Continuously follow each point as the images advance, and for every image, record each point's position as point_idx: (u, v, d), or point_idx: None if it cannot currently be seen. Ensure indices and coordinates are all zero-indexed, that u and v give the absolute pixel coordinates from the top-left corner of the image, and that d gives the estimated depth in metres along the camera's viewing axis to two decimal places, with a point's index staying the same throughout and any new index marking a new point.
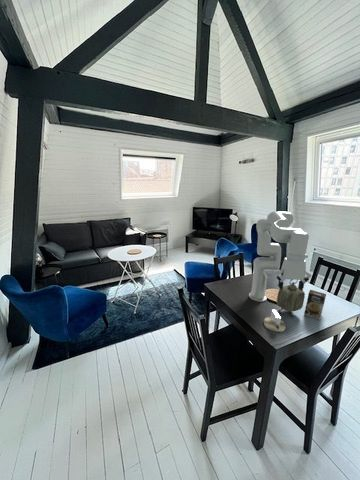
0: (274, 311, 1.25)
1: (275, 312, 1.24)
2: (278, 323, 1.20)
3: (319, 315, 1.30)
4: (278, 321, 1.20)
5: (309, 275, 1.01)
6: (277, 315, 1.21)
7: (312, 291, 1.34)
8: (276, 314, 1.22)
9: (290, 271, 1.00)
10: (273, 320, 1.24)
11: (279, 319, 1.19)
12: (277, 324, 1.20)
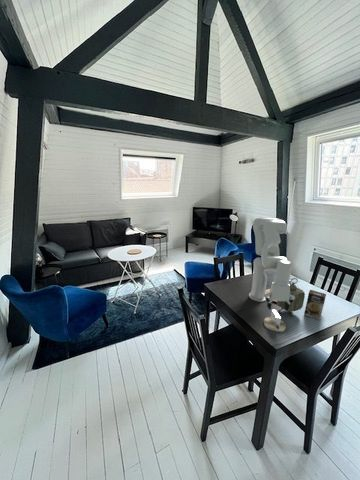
0: (274, 311, 1.25)
1: (275, 312, 1.24)
2: (278, 323, 1.20)
3: (319, 315, 1.30)
4: (278, 321, 1.20)
5: (293, 297, 1.18)
6: (277, 315, 1.21)
7: (312, 291, 1.34)
8: (276, 314, 1.22)
9: (277, 294, 1.17)
10: (273, 320, 1.24)
11: (279, 319, 1.19)
12: (277, 324, 1.20)
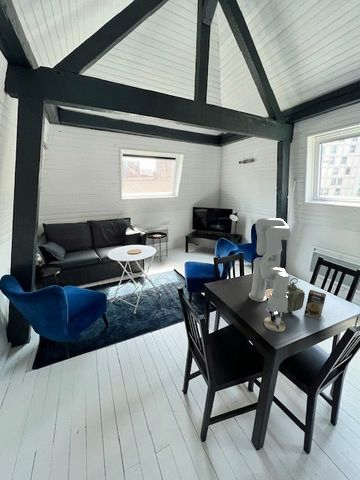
0: None
1: (275, 312, 1.24)
2: (278, 323, 1.20)
3: (319, 315, 1.30)
4: (278, 321, 1.20)
5: (286, 311, 1.21)
6: (277, 315, 1.21)
7: (312, 291, 1.34)
8: (276, 314, 1.22)
9: (274, 305, 1.19)
10: None
11: (279, 319, 1.19)
12: (277, 324, 1.20)
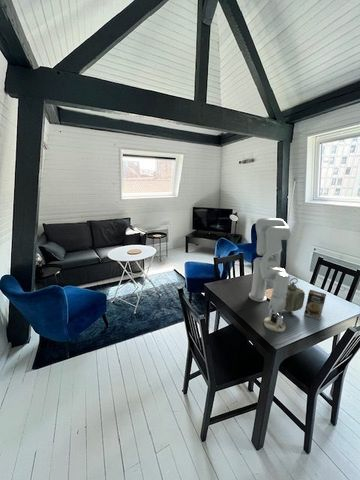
0: None
1: None
2: (280, 323, 1.20)
3: (319, 315, 1.30)
4: (281, 321, 1.20)
5: None
6: (278, 315, 1.21)
7: (312, 291, 1.34)
8: (277, 314, 1.22)
9: (278, 306, 1.18)
10: None
11: (281, 319, 1.20)
12: (280, 324, 1.20)
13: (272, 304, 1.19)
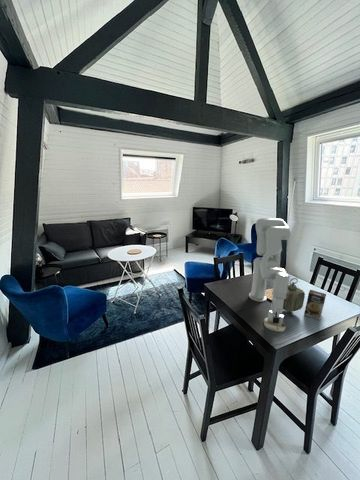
0: (272, 312, 1.24)
1: None
2: (282, 321, 1.22)
3: (319, 315, 1.30)
4: (282, 319, 1.21)
5: None
6: None
7: (312, 291, 1.34)
8: None
9: None
10: None
11: (283, 317, 1.21)
12: (282, 323, 1.22)
13: (278, 306, 1.16)
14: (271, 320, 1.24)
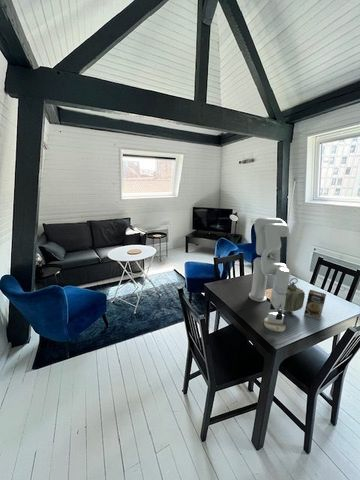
0: (272, 313, 1.23)
1: (274, 313, 1.23)
2: None
3: (319, 315, 1.30)
4: None
5: None
6: None
7: (312, 291, 1.34)
8: None
9: None
10: (276, 321, 1.23)
11: None
12: None
13: (281, 302, 1.16)
14: (272, 321, 1.23)
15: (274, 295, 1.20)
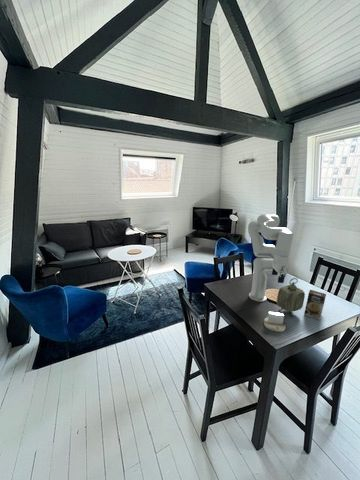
0: (272, 313, 1.23)
1: (274, 313, 1.23)
2: None
3: (319, 315, 1.30)
4: None
5: None
6: (279, 314, 1.23)
7: (312, 291, 1.34)
8: (277, 314, 1.23)
9: None
10: (276, 321, 1.23)
11: None
12: None
13: (283, 264, 1.16)
14: (272, 321, 1.23)
15: (276, 259, 1.20)
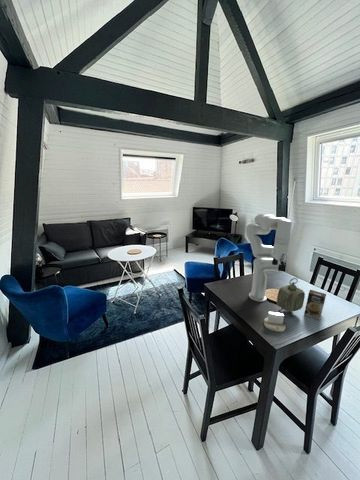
0: (272, 313, 1.23)
1: (274, 313, 1.23)
2: None
3: (319, 315, 1.30)
4: None
5: None
6: (279, 314, 1.23)
7: (312, 291, 1.34)
8: (277, 314, 1.23)
9: None
10: (276, 321, 1.23)
11: None
12: None
13: (283, 252, 1.18)
14: (272, 321, 1.23)
15: (276, 247, 1.22)
